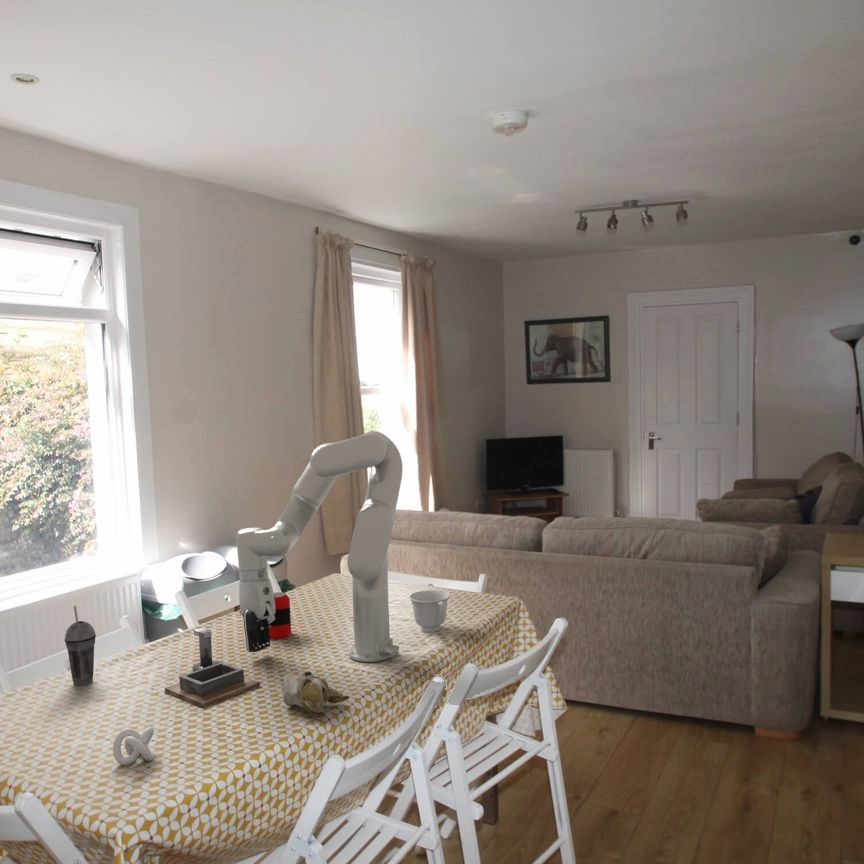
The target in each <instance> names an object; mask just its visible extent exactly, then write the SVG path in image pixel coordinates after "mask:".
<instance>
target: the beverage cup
mask: <svg viewBox="0 0 864 864" xmlns="http://www.w3.org/2000/svg"><path fill="white" fill-rule="evenodd" d="M73 611H74V618H75V622H74V623H72V624H71V625H69V627H68V628H67V629H66V631H65V636H64V642H65V647H66V649H67V653H68V660H69V667H70V673H71V679H72V683H73V686H75V687H83V686H87V685H90V684H92V683H93V681H94V680H93V679H94V667H95V666H94V665H95V663H94V661H95V659H94V657H95V655H94V654H95V643H96V637H97V635H96V632H95V628H94V627H93V626H92V625H91V623H89V622H87V621H83V620H79V618H78V612H77V606H76V605H73Z"/></svg>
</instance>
